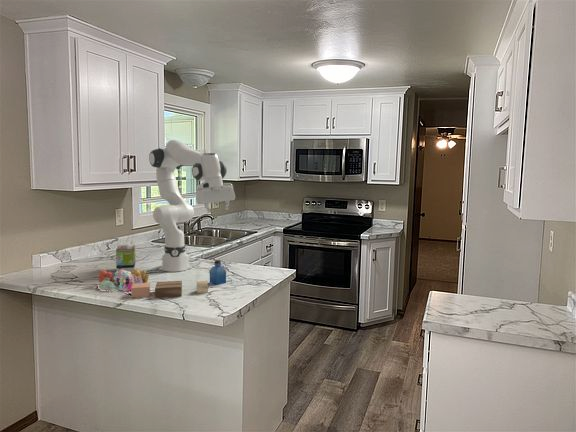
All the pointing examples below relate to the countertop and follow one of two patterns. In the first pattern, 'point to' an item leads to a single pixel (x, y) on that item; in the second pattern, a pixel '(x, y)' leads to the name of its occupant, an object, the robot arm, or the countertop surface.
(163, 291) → the walnut block
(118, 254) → the tea box
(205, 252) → the countertop surface
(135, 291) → the terracotta block
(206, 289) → the maple cube
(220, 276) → the perfume bottle
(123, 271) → the candy landscape model
